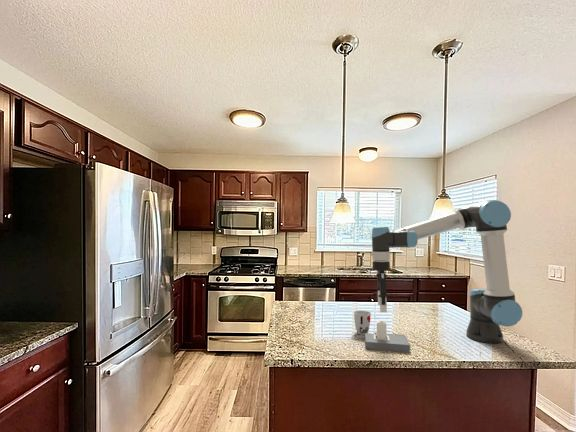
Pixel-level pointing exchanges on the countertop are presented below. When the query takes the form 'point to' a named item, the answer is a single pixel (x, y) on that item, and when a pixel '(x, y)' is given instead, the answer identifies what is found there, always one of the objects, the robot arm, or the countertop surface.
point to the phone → (393, 334)
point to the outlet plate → (387, 343)
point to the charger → (381, 329)
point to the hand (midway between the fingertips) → (382, 308)
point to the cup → (362, 321)
